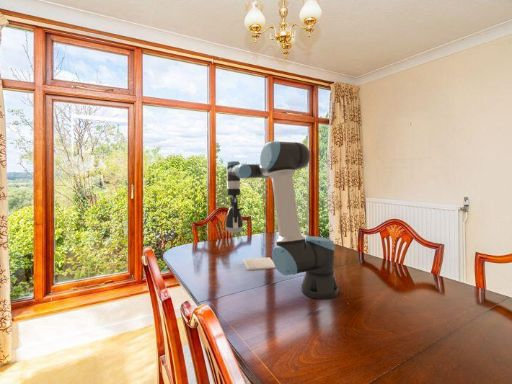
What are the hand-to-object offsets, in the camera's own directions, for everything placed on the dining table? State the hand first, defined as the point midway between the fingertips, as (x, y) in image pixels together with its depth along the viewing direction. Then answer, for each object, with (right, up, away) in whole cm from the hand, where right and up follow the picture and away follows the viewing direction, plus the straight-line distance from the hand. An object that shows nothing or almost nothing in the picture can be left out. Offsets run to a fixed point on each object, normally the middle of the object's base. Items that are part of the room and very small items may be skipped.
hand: (234, 226), depth 164 cm
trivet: (+14, -20, -8) cm, 26 cm away
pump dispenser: (0, -3, 0) cm, 4 cm away
